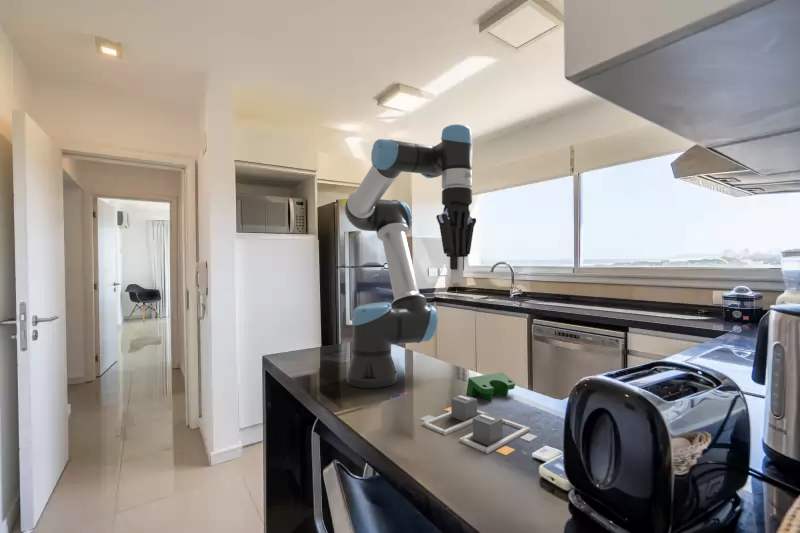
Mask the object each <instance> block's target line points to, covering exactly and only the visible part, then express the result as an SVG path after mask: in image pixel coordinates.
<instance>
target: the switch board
mask: <svg viewBox="0 0 800 533" xmlns="http://www.w3.org/2000/svg"><path fill="white" fill-rule="evenodd" d="M443 411H446V413H443V414H441V415H438V416H434V415H430V414H428V415H425V416H422V417H420V418H419V420H420V421H422V423H421V425H422V426H424V427H426V428H428V429H431V430H433V431H435V432H437V433H440V434H442V435H444V436H446V435H449V434H452V433H453V432H455V431H458V430H460V429H463V428H465V427H467V426H469V425H471V424H472V425H473V418H472V419H469V420H467V421H461V422H460V423H457V424H455V425H453V426H451V427H449V428H446V429H444V428H441V427H439V426H436V425H434V423H437V422H440V421H441V420H444V419H446V418H450V417H451V406H449V407H447V408H444V409H443ZM484 413H486V414H489V413H487V412H484V411H483V410H479V409H477V416H479V415H482V414H484ZM477 416H476V417H477ZM474 418H475V417H474ZM501 419H503V424H505V425H507V426H511V427H514V428H516V429H519V430H517V431H515V432H513V433H511V434H509V435H508V436H505V437H504V438H503V439H502V440H500V441H498V442H496V443H494V444H492V445H490V446H488V445H487V446H484V445H482V444H480V443H477V442H476V441H475V442H474V441H473V431H472V432H471V433H468V434H466V435H464V436H462V437H459V442H460V443H463V444H465V445H467V446H469V447H471V448H474V449H476V450H478V451H481V452H483V453H485V454H487V455H488V454H490V453H491V452H493V451H495V452H496V453H498V454H500V455H503V456H506V457H507V456H508V455H511V454H512V453H513V452H515V451H516V449H515V448H512V447H511V446H510V447H509V446H507V445H506V444H508V443H510V442H512V441H514V440H515V439H517V438H518V437H519V438H520V440H524V441H526V442H529V443H530V442H533V441H534V440H535V439H537V438H539V437H538V436H537V435H535V434H531V433H528V432H529V431H531V428H530V427H528V426H526V425H523V424H519V423H516V422H515V421H511V420H508V419H505V418H501ZM471 439H472V440H471Z"/></svg>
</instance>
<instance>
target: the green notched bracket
mask: <svg viewBox="0 0 800 533" xmlns="http://www.w3.org/2000/svg"><path fill="white" fill-rule="evenodd" d="M515 386H516V381H515V380H513V379H512V378H510V377H509V376H508V375H507V374H505V373H503V372H495V373H490V374H483V375H478V376H477V375H476V376H471V377H468V381H467V388H466V396H469V397H472V398H475V396H477V397H478V396H480V397H482V398H485V399H487V400H488V401H493V396H494V395H498V396H502V397H505V398H508V395H509V391H510V390H514V389H515Z"/></svg>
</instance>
